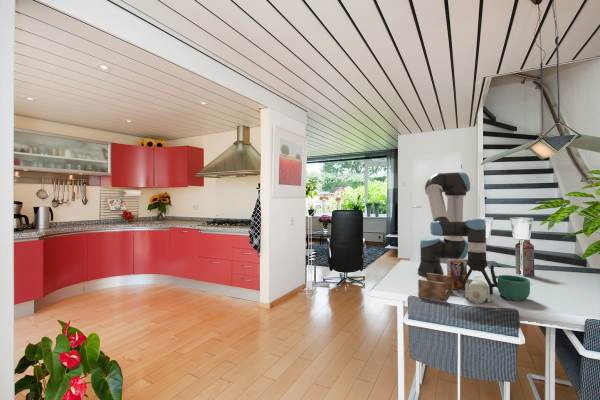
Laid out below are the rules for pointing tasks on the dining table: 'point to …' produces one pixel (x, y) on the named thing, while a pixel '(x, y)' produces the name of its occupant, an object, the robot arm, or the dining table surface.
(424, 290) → the cradle
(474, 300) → the roll
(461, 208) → the robot arm
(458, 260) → the candy box
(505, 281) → the mug
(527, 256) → the juice carton
